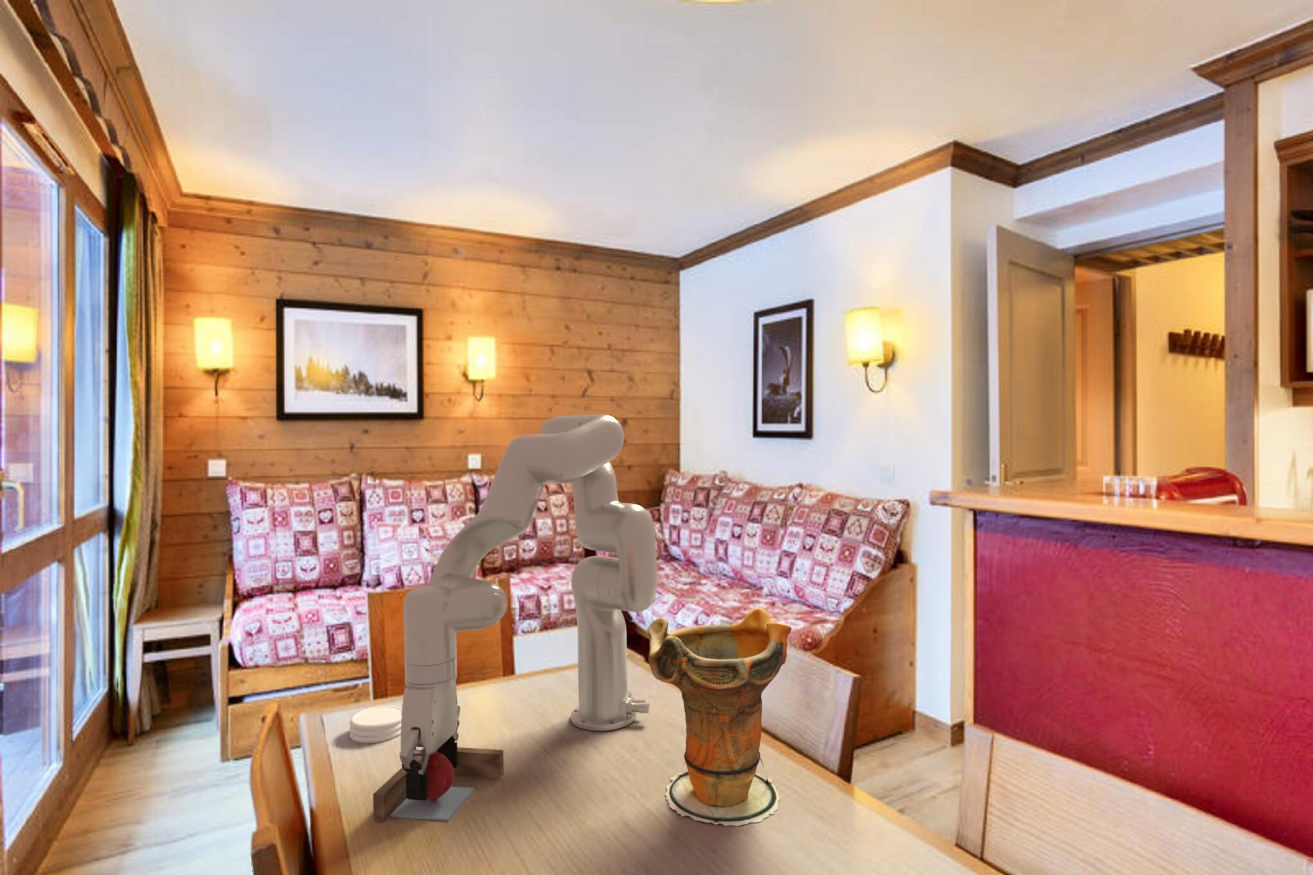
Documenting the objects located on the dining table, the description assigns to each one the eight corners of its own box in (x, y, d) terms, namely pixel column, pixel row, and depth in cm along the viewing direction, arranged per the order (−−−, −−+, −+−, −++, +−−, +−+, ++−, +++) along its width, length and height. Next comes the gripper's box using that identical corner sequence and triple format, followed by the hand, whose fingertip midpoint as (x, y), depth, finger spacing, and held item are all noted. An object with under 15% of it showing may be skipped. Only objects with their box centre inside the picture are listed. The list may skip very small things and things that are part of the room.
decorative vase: (623, 775, 114) (630, 602, 114) (750, 758, 122) (756, 595, 122) (672, 846, 94) (679, 637, 95) (819, 819, 103) (825, 626, 103)
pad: (473, 789, 111) (473, 787, 111) (448, 820, 102) (448, 818, 102) (420, 786, 113) (420, 784, 113) (390, 816, 104) (390, 814, 104)
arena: (503, 773, 116) (503, 749, 116) (462, 828, 100) (461, 799, 100) (426, 769, 118) (425, 745, 118) (373, 821, 102) (373, 794, 102)
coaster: (352, 726, 137) (352, 708, 137) (407, 719, 140) (406, 701, 140) (347, 748, 127) (346, 728, 127) (405, 740, 130) (405, 721, 130)
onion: (461, 792, 110) (459, 740, 110) (442, 811, 104) (441, 757, 104) (426, 789, 111) (425, 738, 111) (406, 808, 105) (405, 755, 105)
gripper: (434, 651, 116) (436, 755, 116) (377, 689, 99) (379, 811, 99) (477, 653, 115) (479, 757, 115) (427, 691, 98) (429, 814, 98)
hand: (433, 782), depth 107 cm, fingers open, 9 cm apart
